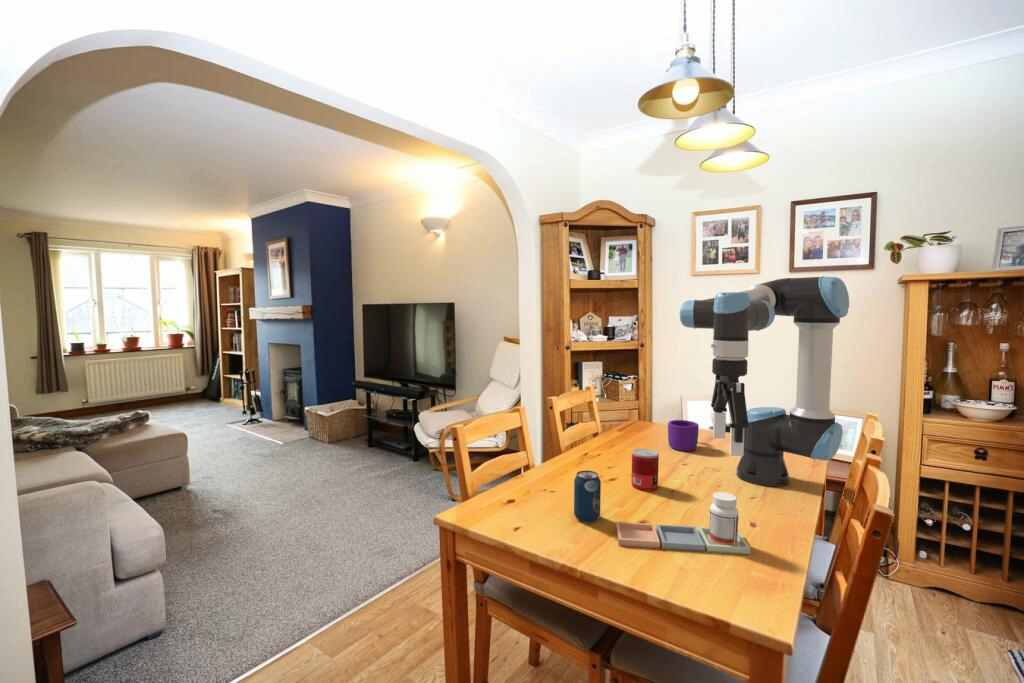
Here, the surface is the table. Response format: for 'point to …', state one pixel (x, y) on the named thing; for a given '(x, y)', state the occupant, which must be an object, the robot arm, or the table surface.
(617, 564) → the table surface
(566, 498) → the table surface
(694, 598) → the table surface
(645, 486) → the canned food
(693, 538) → the dish slate
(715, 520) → the pill bottle
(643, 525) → the dish terracotta
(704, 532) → the dish sage
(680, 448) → the mug
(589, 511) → the soda can
